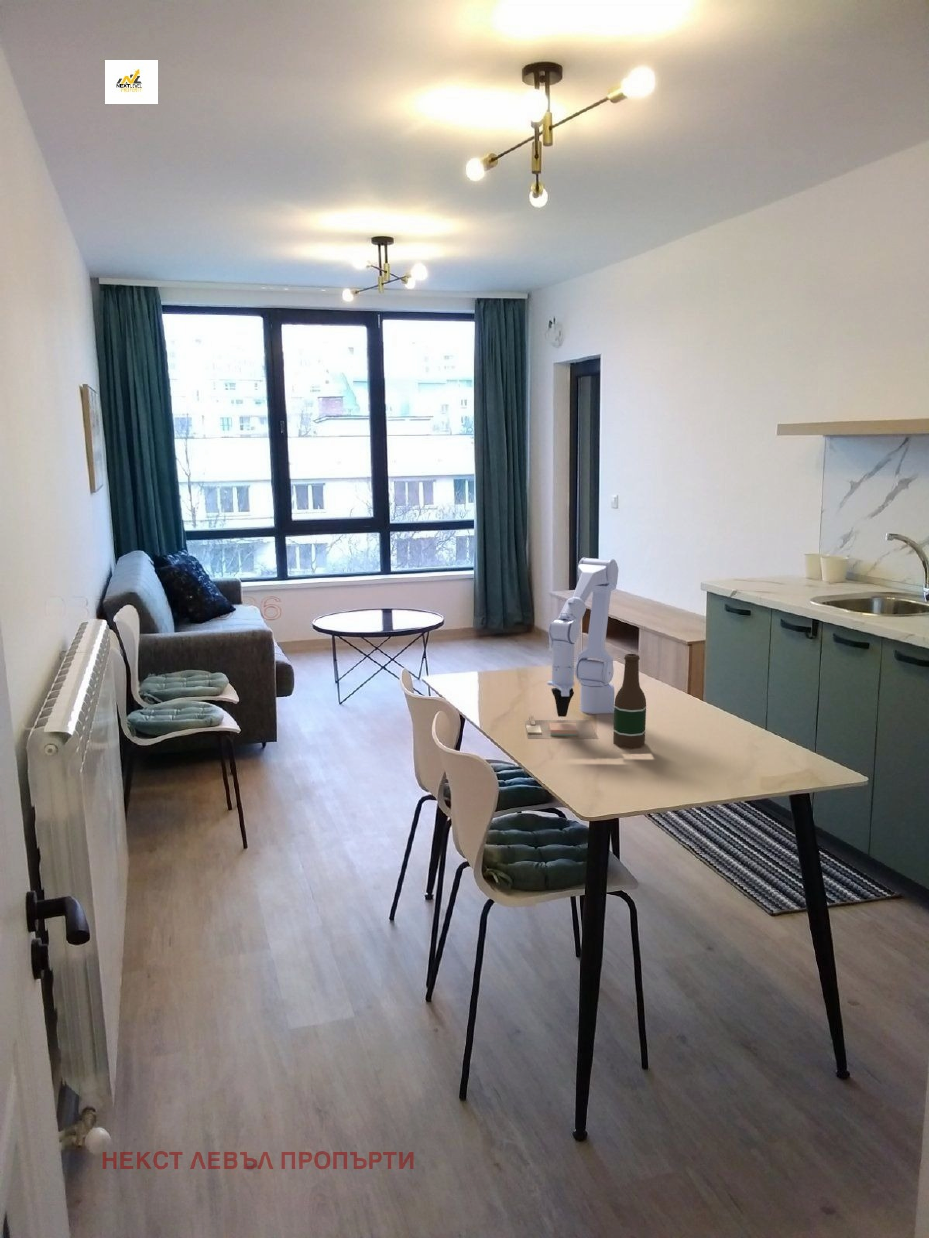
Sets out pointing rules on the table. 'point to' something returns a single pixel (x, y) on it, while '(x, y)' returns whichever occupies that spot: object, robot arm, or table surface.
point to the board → (584, 732)
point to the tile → (563, 729)
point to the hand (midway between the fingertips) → (562, 715)
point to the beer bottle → (630, 708)
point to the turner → (533, 727)
